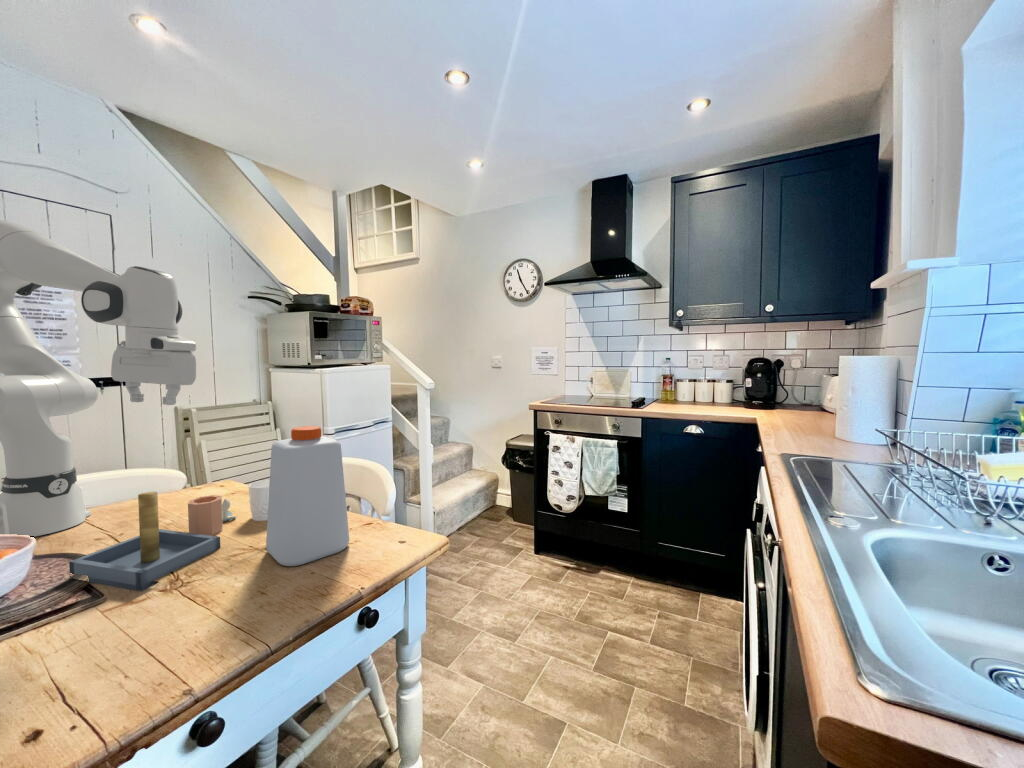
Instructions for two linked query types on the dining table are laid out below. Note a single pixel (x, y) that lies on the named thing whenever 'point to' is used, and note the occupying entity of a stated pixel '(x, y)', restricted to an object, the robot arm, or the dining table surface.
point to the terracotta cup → (205, 515)
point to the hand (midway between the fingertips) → (152, 403)
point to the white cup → (259, 499)
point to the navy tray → (125, 564)
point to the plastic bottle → (306, 498)
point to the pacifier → (224, 510)
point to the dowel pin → (149, 527)
